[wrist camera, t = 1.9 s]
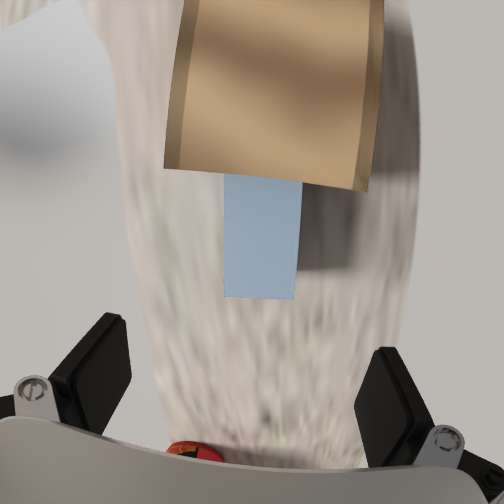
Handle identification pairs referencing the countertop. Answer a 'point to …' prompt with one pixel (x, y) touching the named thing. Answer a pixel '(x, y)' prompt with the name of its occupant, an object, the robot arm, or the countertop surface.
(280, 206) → the bar
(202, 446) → the canned food
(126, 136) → the countertop surface
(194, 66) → the cubby
